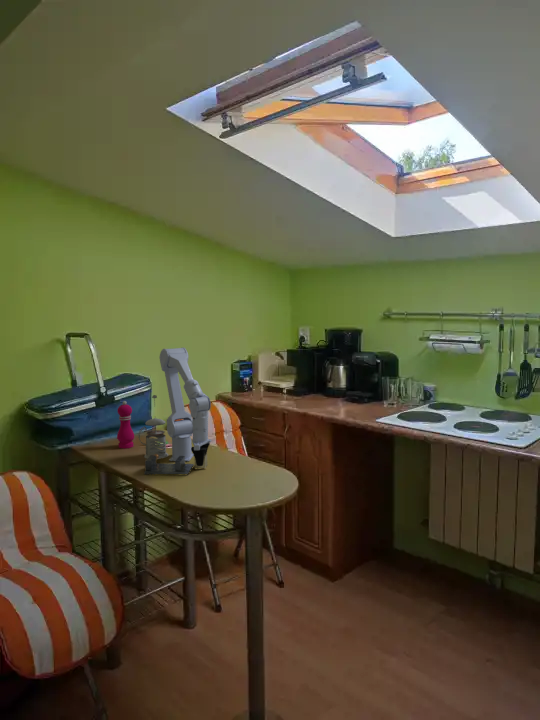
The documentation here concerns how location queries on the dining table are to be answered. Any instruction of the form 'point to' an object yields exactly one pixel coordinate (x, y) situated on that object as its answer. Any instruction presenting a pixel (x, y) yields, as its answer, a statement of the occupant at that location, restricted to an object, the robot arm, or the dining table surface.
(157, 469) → the vise
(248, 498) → the dining table surface
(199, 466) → the brass block
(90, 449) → the dining table surface
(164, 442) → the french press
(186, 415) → the robot arm
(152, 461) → the sliding jaw
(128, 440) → the pepper mill
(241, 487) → the dining table surface
